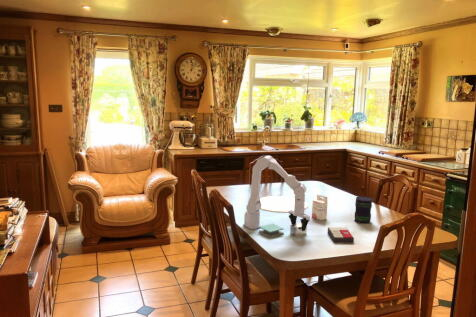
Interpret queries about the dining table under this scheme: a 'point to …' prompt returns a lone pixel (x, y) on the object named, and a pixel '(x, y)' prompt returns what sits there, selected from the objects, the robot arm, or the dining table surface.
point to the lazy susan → (278, 204)
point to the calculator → (340, 235)
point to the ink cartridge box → (319, 208)
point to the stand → (271, 230)
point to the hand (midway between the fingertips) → (298, 228)
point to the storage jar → (363, 210)
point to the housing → (297, 230)
